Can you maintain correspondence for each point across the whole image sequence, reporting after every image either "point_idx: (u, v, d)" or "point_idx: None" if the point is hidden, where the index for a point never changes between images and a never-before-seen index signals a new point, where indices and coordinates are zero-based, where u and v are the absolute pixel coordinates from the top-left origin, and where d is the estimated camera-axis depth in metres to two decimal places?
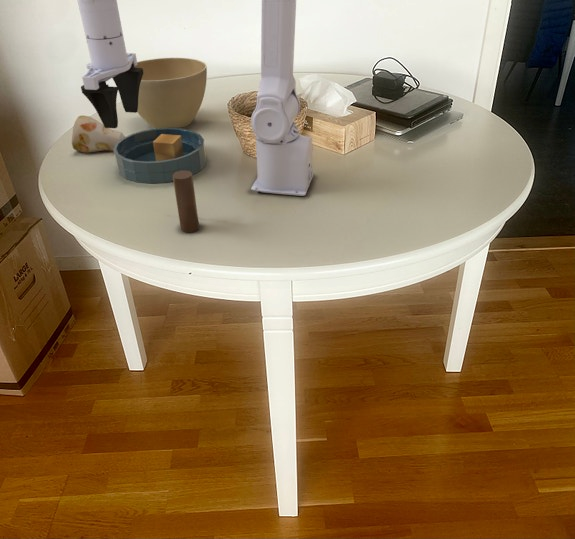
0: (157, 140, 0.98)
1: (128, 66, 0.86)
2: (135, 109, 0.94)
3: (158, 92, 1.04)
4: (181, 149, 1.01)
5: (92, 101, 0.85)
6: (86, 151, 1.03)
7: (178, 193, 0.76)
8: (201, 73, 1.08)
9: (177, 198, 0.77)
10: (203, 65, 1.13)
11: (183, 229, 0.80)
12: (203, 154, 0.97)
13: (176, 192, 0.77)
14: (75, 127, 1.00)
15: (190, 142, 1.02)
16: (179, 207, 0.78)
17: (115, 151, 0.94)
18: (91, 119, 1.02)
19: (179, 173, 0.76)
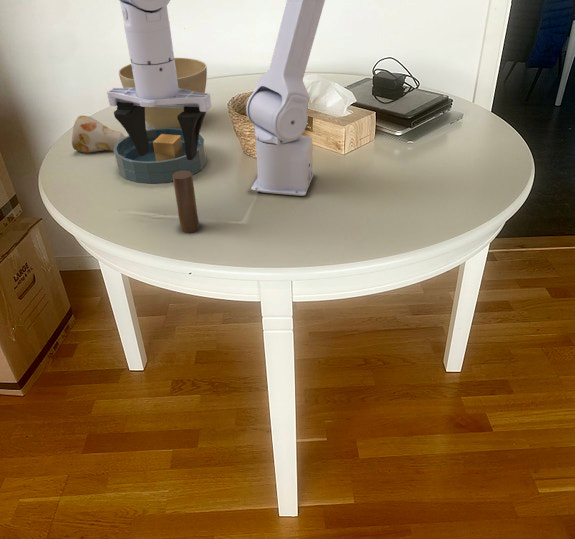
0: (157, 140, 0.98)
1: None
2: (148, 147, 0.79)
3: None
4: (181, 149, 1.01)
5: (194, 130, 0.73)
6: (86, 151, 1.03)
7: (178, 193, 0.76)
8: (201, 73, 1.08)
9: (177, 198, 0.77)
10: (203, 65, 1.13)
11: (183, 229, 0.80)
12: (203, 154, 0.97)
13: (176, 192, 0.77)
14: (75, 127, 1.00)
15: None
16: (179, 207, 0.78)
17: (115, 151, 0.94)
18: (91, 119, 1.02)
19: (179, 173, 0.76)
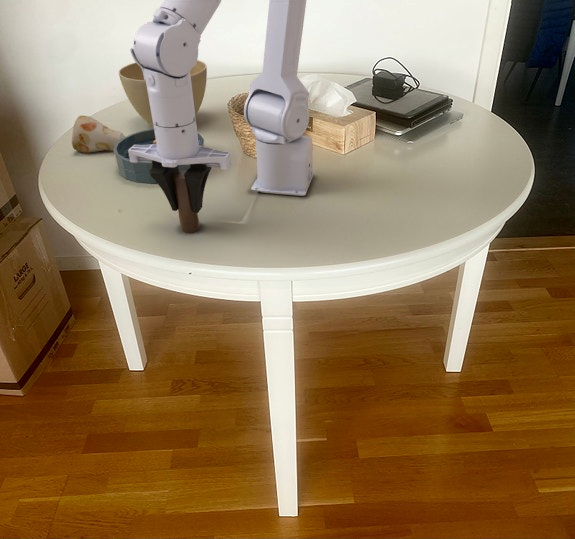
0: None
1: None
2: None
3: None
4: None
5: (200, 186, 0.75)
6: (86, 151, 1.03)
7: (178, 193, 0.76)
8: (201, 73, 1.08)
9: (177, 198, 0.77)
10: (203, 65, 1.13)
11: (184, 229, 0.80)
12: None
13: (176, 192, 0.77)
14: (75, 127, 1.00)
15: None
16: (179, 207, 0.78)
17: (115, 151, 0.94)
18: (91, 119, 1.02)
19: (180, 173, 0.76)
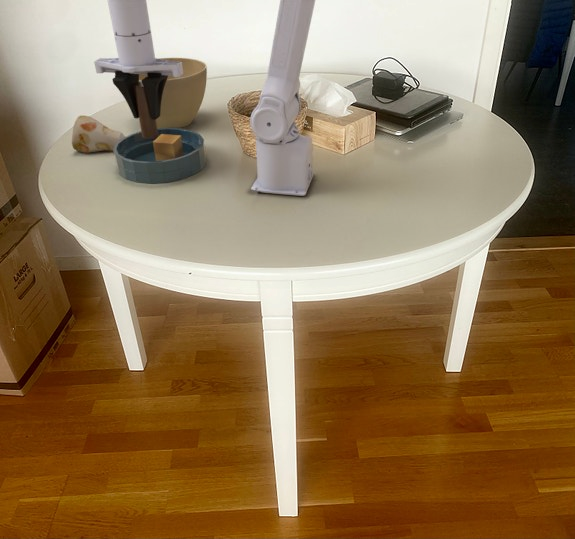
0: (157, 140, 0.98)
1: None
2: None
3: None
4: (181, 149, 1.01)
5: (156, 92, 0.87)
6: (86, 151, 1.03)
7: (138, 101, 0.88)
8: (201, 73, 1.08)
9: (137, 106, 0.89)
10: (203, 65, 1.13)
11: (144, 136, 0.92)
12: (203, 154, 0.97)
13: (136, 100, 0.88)
14: (75, 127, 1.00)
15: (190, 142, 1.02)
16: (139, 114, 0.90)
17: (115, 151, 0.94)
18: (91, 119, 1.02)
19: (139, 83, 0.88)
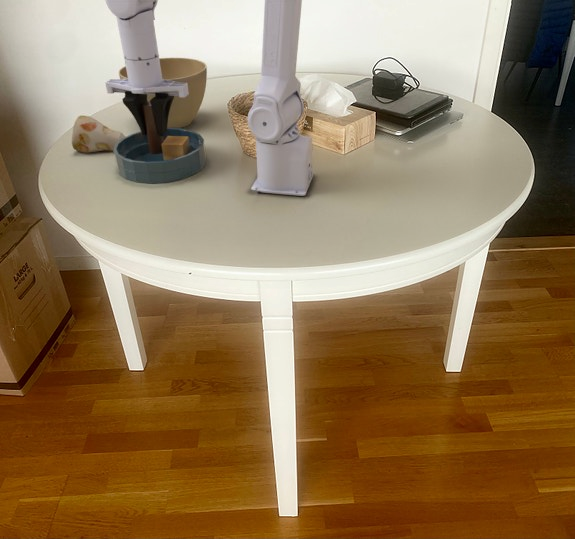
0: (165, 142, 0.97)
1: None
2: None
3: None
4: (189, 150, 1.00)
5: (163, 111, 0.92)
6: (86, 151, 1.03)
7: (146, 119, 0.94)
8: (201, 73, 1.08)
9: (146, 123, 0.95)
10: (203, 65, 1.13)
11: (152, 151, 0.98)
12: (203, 154, 0.97)
13: (145, 118, 0.94)
14: (75, 127, 1.00)
15: (190, 142, 1.02)
16: (147, 131, 0.95)
17: (115, 151, 0.94)
18: (91, 119, 1.02)
19: (147, 103, 0.94)
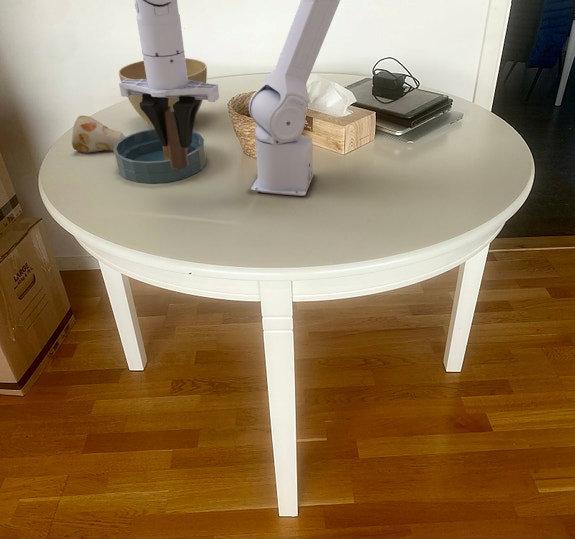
0: None
1: None
2: None
3: None
4: (189, 150, 1.00)
5: (188, 118, 0.77)
6: (86, 151, 1.03)
7: (167, 127, 0.78)
8: (201, 73, 1.08)
9: (167, 133, 0.79)
10: (203, 65, 1.13)
11: (173, 165, 0.82)
12: (203, 154, 0.97)
13: (165, 126, 0.79)
14: (75, 127, 1.00)
15: None
16: (169, 142, 0.80)
17: (115, 151, 0.94)
18: (91, 119, 1.02)
19: (169, 108, 0.78)
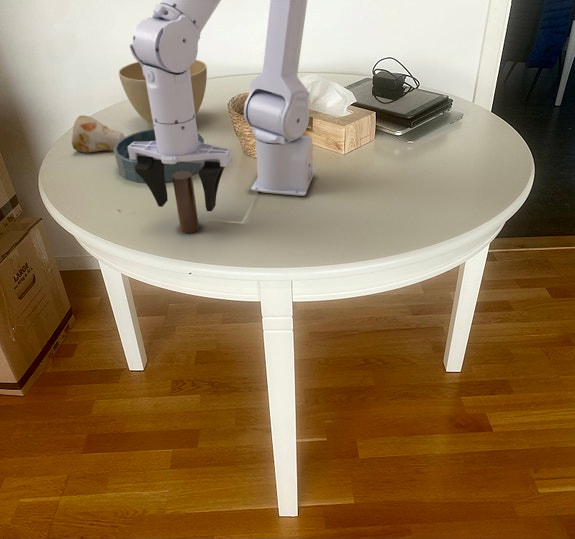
0: None
1: None
2: (166, 197, 0.80)
3: None
4: None
5: (214, 184, 0.74)
6: (86, 151, 1.03)
7: (178, 193, 0.76)
8: (201, 73, 1.08)
9: (177, 198, 0.77)
10: (203, 65, 1.13)
11: (183, 230, 0.80)
12: None
13: (176, 192, 0.76)
14: (75, 127, 1.00)
15: None
16: (179, 208, 0.78)
17: (115, 151, 0.94)
18: (91, 119, 1.02)
19: (179, 174, 0.76)
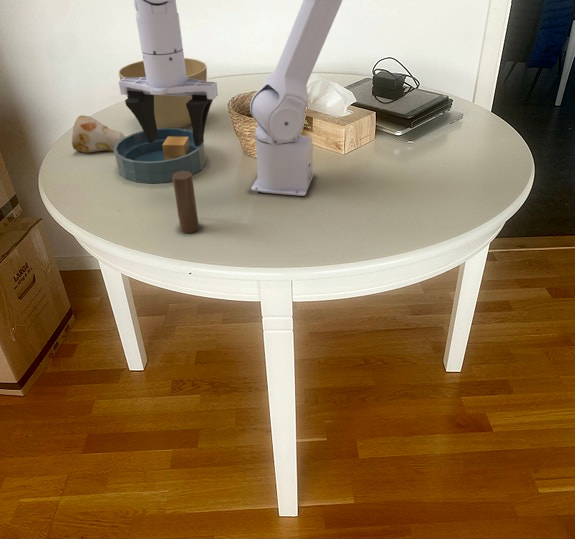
0: (166, 143, 0.97)
1: None
2: (156, 134, 0.83)
3: None
4: (189, 150, 1.00)
5: (201, 117, 0.77)
6: (86, 151, 1.03)
7: (178, 193, 0.76)
8: (201, 73, 1.08)
9: (177, 198, 0.77)
10: (203, 65, 1.13)
11: (183, 230, 0.80)
12: (203, 154, 0.97)
13: (176, 192, 0.76)
14: (75, 127, 1.00)
15: (190, 142, 1.02)
16: (179, 208, 0.78)
17: (115, 151, 0.94)
18: (91, 119, 1.02)
19: (179, 174, 0.76)
